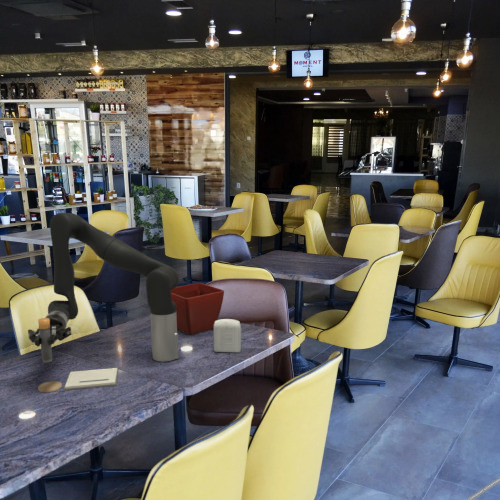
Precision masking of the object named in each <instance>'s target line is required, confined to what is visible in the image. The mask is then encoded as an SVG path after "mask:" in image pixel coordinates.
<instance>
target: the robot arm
mask: <svg viewBox="0 0 500 500" xmlns="http://www.w3.org/2000/svg"><path fill="white" fill-rule="evenodd" d="M49 228H50V229H49V230H50V231H49V232H50V238H51V239H50V240H51V245H52V246H51V247H52V254H53V265H54V266H53V267H54V268H53V271H54V273H53V275H54V276H53V291H54V294H56V295H60V296H64V297H65V299H67V300H57V299H56V300H52V301H51V302H50V303H49V304H48V307H47V315H46V316H45V317H44V318H49V319H50V337H49V339H48V344H49V346H51V347H52V345H54V344H55V343H56V342H57V341H59V342H60V341H63V340H65V339H67V338H68V337H70V336H71V335H72V328H71V326H68V323H69V321H72V320H74V319H76V318H77V317H78V315H79V307H78V303H77V299H76V296H75V269H74V264H73V261H72V258H71V255H70V250H69V249H70V247H69V245H70V239H74V240H75V241H78V242H81V243H82V244H85V245H87V247H89V248H90V249H91V250H92V251H93V252H94V254H95V255H96V256H97V257H99V258H100V259H101V260H102V261H104V262H106V263H107V264H110V265H111V266H113V267H115V268H117V269H120V270H124V271H127V272H132V273H135V274H140V275H141V276H144V277H146V279H145V280H146V281H145V282H146V283H145V286H146V287H145V289H146V300H147V305H148V307H149V312H150V329H151V333H150V334H151V354H152V359H153V360H154V361H155V362H162V363H163V362H171V361H174V360H178V359H179V333H178V329H177V312H176V303H175V302H173V301H172V299H171V290H172V289H174V288H175V287H178V285H179V284H180V283H179V282H180V277H179V274H178V271H176V269H175V268H173V267H172V266H170V265H167V264H165V263H164V262H161V261H158V260H156V259H154V258H152V257H150V256H147V255H146V254H145V253H143V252H141V251H139V250H138V249H135V248H134V247H132V246H130V245H129V244H127V243H126V242H124V241H122V240H121V239H118V238H117V237H115V236H112V235H111V234H108V233H107V232H104V231H102V230H100V229H98V227H95V226H94V225H92V224H91V223H90V222H88V221H86V220H85V219H84V218H82V216H80V215H78V214H77V213H72V212H58V213H55V214H54V215H53V216H52V217H51V219H50V223H49ZM67 326H68V327H67ZM27 334H28V339H29V340H30V342H31V343H34V346H36V347H37V348H38V347H41V341H40V330H39V327H38V328H37V329H36V330H33V329H28V330H27Z"/></svg>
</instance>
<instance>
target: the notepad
mask: <svg viewBox="0 0 500 500" xmlns="http://www.w3.org/2000/svg"><path fill="white" fill-rule="evenodd" d="M118 371H119V368H118V367H112V368H102V369H101V368H100V369H90V370H77V371H70V373H68V376H67V379H66V382H65V384H64V386H63V391H70V390H71V391H72V390H73V391H74V390H83V389H93V388H94V387H95V388H104V387H115V386H117V383H118V375H119V372H120V371H119V372H118Z"/></svg>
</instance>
